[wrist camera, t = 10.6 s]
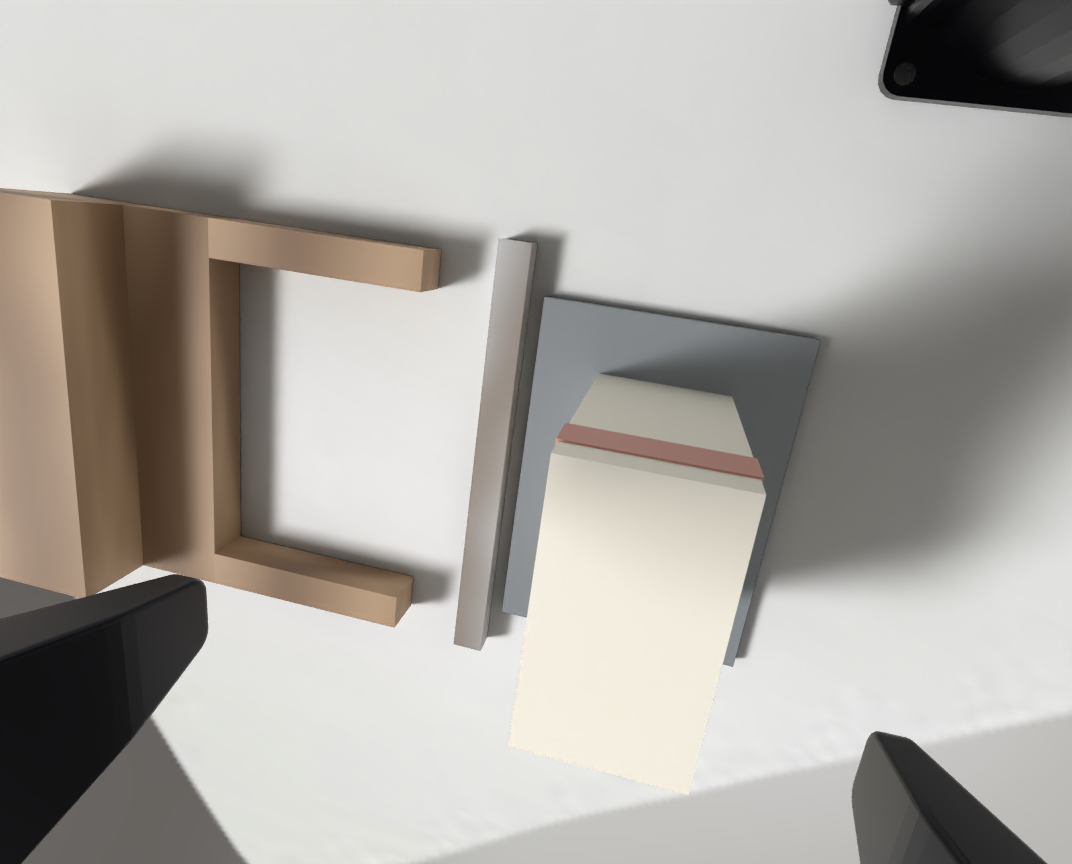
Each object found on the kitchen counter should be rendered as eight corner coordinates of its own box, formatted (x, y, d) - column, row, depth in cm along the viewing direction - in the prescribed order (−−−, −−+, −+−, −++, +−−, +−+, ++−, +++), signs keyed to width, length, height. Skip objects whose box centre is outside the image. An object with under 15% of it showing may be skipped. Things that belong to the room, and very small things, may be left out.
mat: (817, 338, 19) (820, 340, 18) (732, 659, 22) (733, 666, 22) (546, 295, 20) (544, 297, 20) (504, 605, 23) (501, 611, 23)
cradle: (537, 243, 20) (504, 243, 16) (486, 637, 24) (451, 711, 20) (67, 174, 22) (-58, 161, 18) (96, 541, 26) (1, 591, 23)
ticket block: (734, 394, 19) (769, 492, 12) (686, 602, 21) (690, 797, 14) (597, 371, 20) (548, 449, 12) (564, 575, 22) (505, 747, 15)
